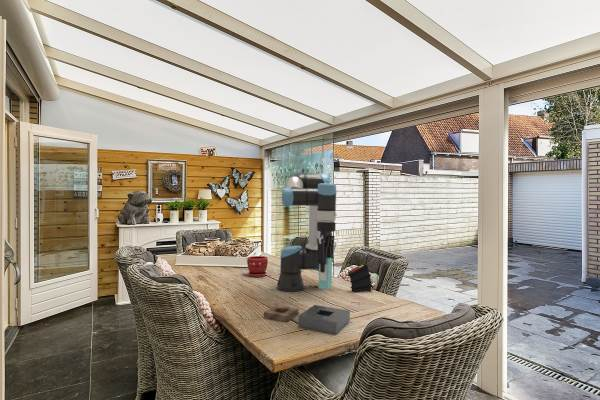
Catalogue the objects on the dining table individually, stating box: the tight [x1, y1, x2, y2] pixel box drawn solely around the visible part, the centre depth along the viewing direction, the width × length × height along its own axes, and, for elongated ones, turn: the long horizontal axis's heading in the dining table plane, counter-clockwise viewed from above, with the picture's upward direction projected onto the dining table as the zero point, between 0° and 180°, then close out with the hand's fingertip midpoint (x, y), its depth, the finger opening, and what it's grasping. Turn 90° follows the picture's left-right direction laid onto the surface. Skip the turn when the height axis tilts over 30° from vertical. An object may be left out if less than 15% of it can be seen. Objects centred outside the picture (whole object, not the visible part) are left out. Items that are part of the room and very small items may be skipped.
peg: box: [318, 258, 333, 290], centre depth 146 cm, size 4×4×12 cm
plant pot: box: [246, 255, 269, 278], centre depth 231 cm, size 13×13×12 cm
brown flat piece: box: [263, 304, 300, 323], centre depth 155 cm, size 11×11×2 cm
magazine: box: [347, 263, 373, 293], centre depth 198 cm, size 4×13×15 cm, turn 107°
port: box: [297, 304, 351, 335], centre depth 146 cm, size 16×16×4 cm
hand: (325, 278), depth 146 cm, fingers closed on peg, 4 cm apart
